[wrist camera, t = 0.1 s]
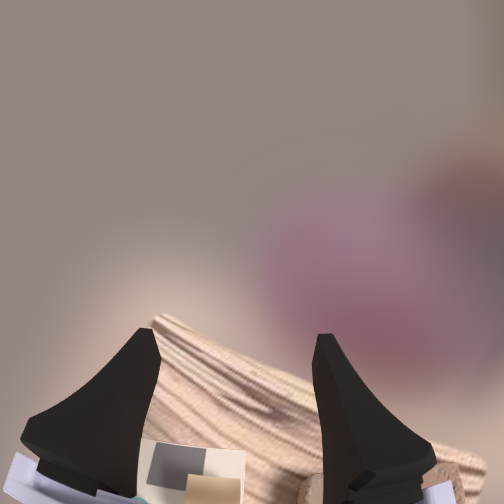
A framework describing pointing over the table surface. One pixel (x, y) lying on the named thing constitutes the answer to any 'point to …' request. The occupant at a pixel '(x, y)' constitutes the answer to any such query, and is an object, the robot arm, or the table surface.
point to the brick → (313, 485)
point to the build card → (182, 469)
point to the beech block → (212, 490)
